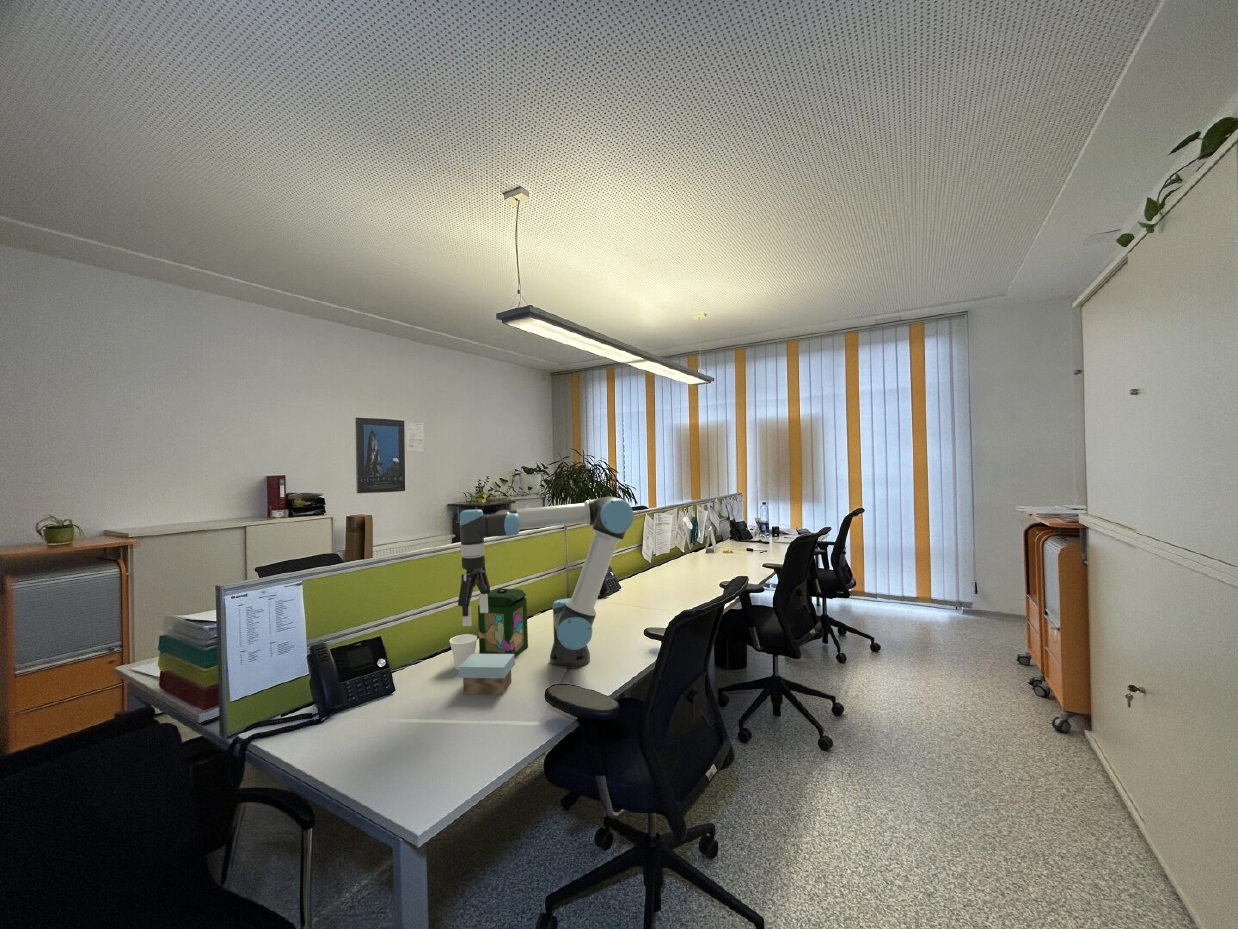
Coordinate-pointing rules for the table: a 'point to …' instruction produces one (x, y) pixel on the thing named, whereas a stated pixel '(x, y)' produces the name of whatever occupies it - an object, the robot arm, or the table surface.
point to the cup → (462, 648)
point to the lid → (486, 666)
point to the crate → (487, 685)
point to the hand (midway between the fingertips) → (476, 619)
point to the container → (504, 623)
